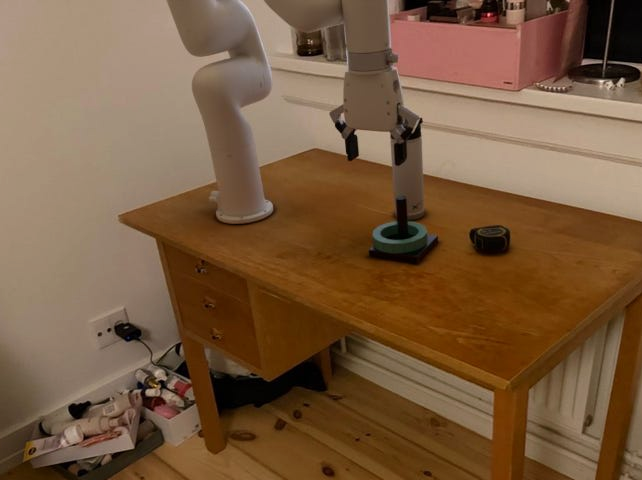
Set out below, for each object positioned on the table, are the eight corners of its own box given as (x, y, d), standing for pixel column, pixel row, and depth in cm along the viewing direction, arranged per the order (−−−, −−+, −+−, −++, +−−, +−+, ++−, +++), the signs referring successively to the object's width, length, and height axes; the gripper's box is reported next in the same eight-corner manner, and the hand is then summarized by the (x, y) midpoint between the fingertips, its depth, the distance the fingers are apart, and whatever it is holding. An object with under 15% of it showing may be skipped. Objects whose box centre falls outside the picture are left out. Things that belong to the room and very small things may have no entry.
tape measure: (503, 239, 136) (503, 220, 134) (514, 253, 130) (515, 234, 128) (468, 243, 135) (468, 225, 133) (479, 258, 130) (479, 239, 128)
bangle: (363, 249, 133) (362, 239, 132) (387, 227, 141) (386, 218, 140) (414, 256, 129) (413, 246, 128) (435, 234, 137) (435, 224, 136)
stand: (369, 257, 134) (364, 204, 128) (392, 236, 141) (388, 185, 135) (417, 264, 130) (414, 210, 124) (438, 242, 137) (436, 190, 131)
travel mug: (423, 221, 146) (419, 123, 135) (392, 220, 147) (386, 123, 136) (428, 209, 151) (424, 114, 140) (398, 209, 152) (392, 115, 141)
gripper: (425, 57, 117) (428, 158, 127) (336, 54, 124) (345, 150, 134) (406, 67, 112) (411, 172, 121) (314, 64, 119) (325, 163, 128)
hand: (376, 161), depth 128 cm, fingers open, 9 cm apart
